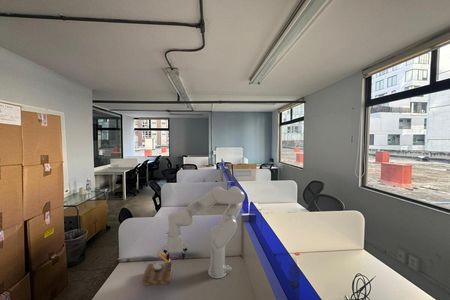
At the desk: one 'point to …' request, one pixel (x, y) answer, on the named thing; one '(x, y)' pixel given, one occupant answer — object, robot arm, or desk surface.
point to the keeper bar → (164, 257)
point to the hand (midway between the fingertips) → (175, 258)
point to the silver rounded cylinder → (158, 266)
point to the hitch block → (158, 274)
